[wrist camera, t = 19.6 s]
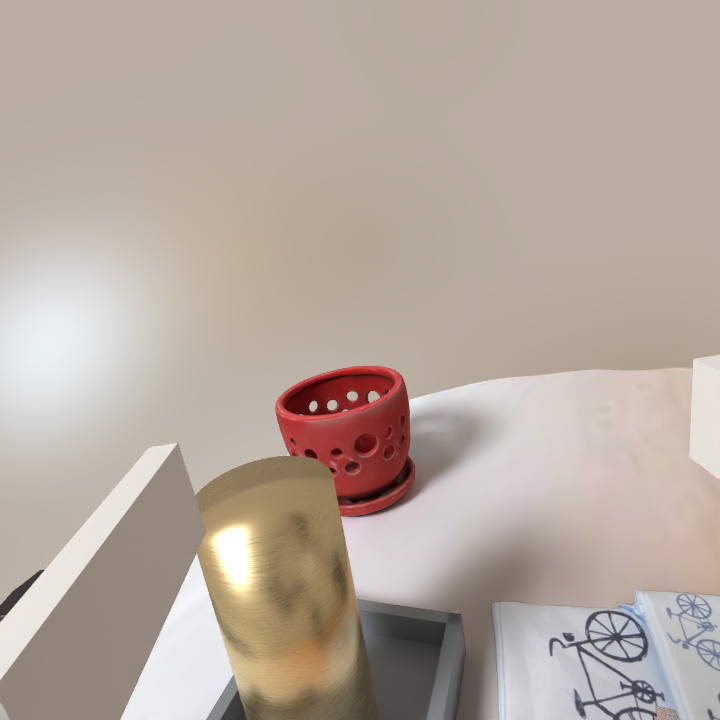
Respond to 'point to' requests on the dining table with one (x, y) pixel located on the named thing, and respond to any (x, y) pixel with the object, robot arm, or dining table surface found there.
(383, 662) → the slate tray
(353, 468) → the plant pot
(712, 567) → the dining table surface
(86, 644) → the robot arm
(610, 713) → the bicycle print cloth
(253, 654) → the cylinder
